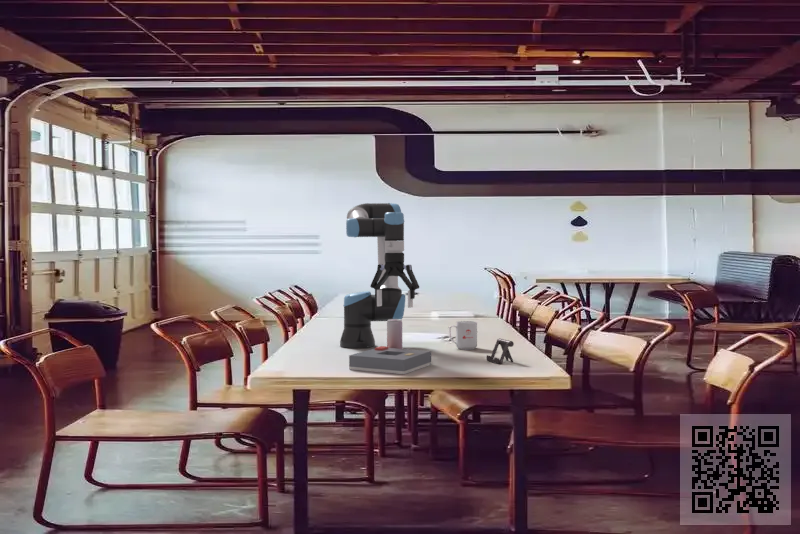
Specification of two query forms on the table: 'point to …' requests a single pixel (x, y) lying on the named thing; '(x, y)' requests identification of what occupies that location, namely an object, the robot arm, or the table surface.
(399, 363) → the socket
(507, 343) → the portable electronic device stand
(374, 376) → the table surface
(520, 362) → the table surface
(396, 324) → the beverage can
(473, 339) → the mug
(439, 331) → the table surface
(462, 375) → the table surface
